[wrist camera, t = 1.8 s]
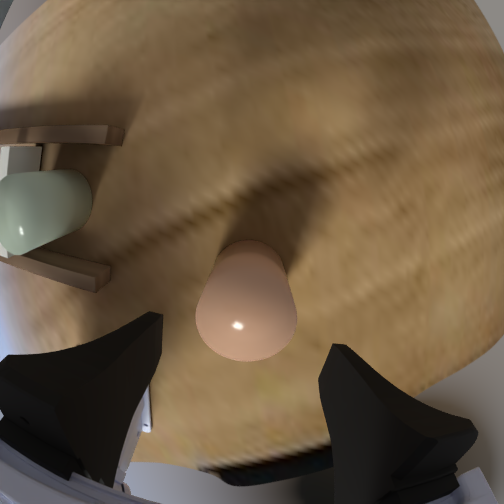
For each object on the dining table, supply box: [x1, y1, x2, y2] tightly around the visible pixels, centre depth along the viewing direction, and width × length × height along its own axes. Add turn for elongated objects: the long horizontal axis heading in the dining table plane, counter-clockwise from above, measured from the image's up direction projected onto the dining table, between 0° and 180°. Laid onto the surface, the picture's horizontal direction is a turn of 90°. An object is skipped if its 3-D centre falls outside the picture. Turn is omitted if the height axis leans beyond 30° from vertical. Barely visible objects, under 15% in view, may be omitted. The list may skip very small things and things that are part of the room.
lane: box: [0, 125, 125, 293], centre depth 16 cm, size 11×22×4 cm, turn 79°
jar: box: [196, 240, 297, 361], centre depth 17 cm, size 5×5×6 cm
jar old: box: [0, 169, 92, 255], centre depth 15 cm, size 5×5×6 cm
